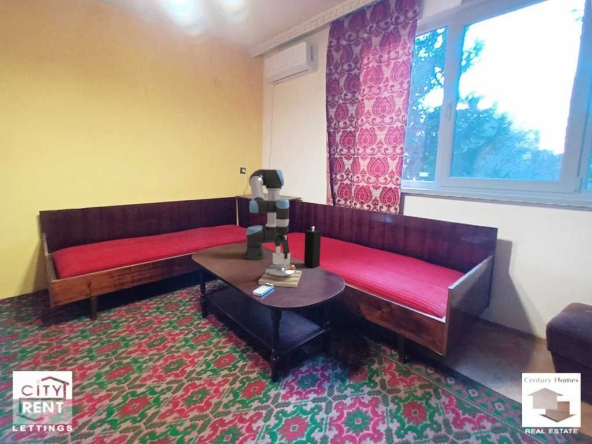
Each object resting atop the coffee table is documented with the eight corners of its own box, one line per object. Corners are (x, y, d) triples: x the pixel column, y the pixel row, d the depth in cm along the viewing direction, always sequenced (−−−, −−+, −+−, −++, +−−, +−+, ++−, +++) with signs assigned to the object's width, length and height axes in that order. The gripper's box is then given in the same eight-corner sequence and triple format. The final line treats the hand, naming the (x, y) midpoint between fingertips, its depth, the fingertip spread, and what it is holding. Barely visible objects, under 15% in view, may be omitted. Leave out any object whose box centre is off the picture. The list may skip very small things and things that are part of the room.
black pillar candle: (303, 265, 202) (305, 226, 197) (311, 263, 208) (312, 224, 202) (312, 268, 197) (314, 227, 191) (319, 265, 202) (321, 226, 197)
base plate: (267, 271, 189) (267, 263, 188) (301, 273, 186) (301, 266, 185) (258, 284, 168) (258, 276, 167) (296, 287, 165) (296, 279, 164)
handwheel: (264, 275, 168) (264, 257, 166) (268, 265, 185) (268, 248, 183) (295, 276, 167) (295, 258, 165) (296, 266, 185) (297, 249, 183)
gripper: (295, 229, 161) (294, 266, 165) (281, 221, 184) (280, 253, 188) (282, 230, 158) (282, 267, 162) (269, 221, 181) (269, 254, 185)
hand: (281, 260), depth 175 cm, fingers open, 13 cm apart
